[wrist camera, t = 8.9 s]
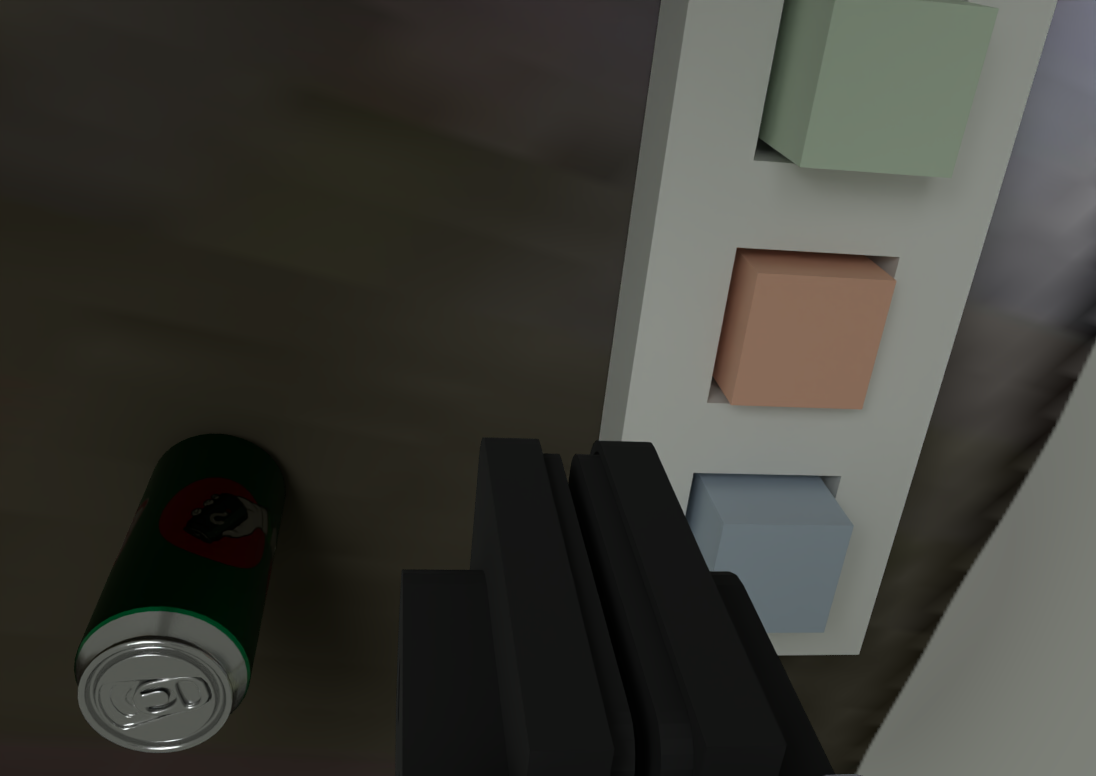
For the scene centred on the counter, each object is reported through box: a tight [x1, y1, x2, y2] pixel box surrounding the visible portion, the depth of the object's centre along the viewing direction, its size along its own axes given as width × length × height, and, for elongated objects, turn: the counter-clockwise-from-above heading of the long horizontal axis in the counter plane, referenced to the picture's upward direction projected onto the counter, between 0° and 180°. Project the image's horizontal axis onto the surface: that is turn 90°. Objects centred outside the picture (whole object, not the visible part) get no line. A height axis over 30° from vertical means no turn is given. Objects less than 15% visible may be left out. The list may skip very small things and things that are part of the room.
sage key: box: [759, 0, 999, 178], centre depth 32 cm, size 5×5×4 cm
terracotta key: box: [712, 248, 896, 409], centre depth 37 cm, size 5×5×4 cm
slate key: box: [686, 473, 854, 633], centre depth 39 cm, size 5×5×4 cm
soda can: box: [74, 434, 286, 753], centre depth 35 cm, size 5×5×12 cm
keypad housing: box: [599, 0, 1058, 655], centre depth 38 cm, size 30×12×4 cm, turn 174°
